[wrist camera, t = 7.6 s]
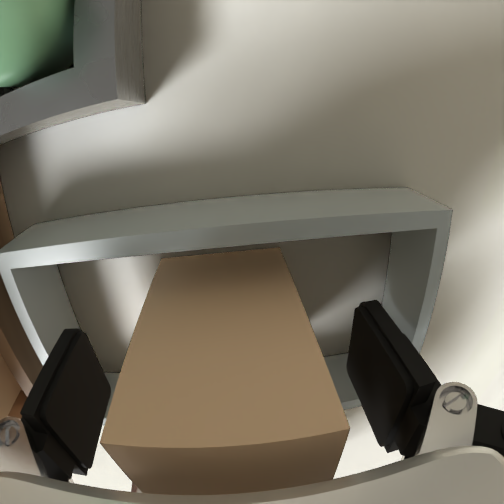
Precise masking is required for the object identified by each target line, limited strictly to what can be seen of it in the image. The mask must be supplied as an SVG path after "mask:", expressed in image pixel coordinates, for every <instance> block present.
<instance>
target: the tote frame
mask: <svg viewBox="0 0 504 504" xmlns="http://www.w3.org/2000/svg"><path fill="white" fill-rule="evenodd" d="M452 212H453V210H452V209H450V208H448V207H446V206H445V205H443V204H441V203H439V202H437V201H435V200H433V199H431V198H429V197H427V196H425V195H423V194H421V193H418V192H416V191H414V190H412V189H410V188H408V187H403V188H364V189H340V190H320V191H303V192H288V193H274V194H261V195H249V196H237V197H226V198H216V199H206V200H197V201H188V202H179V203H170V204H162V205H154V206H146V207H138V208H131V209H124V210H117V211H110V212H103V213H97V214H90V215H84V216H78V217H72V218H66V219H60V220H54V221H48V222H43V223H37V224H34V225H32V226H31V227H29V228H28V229H27V230H25V231H24V232H23V233H21V234H20V235H18V236H17V237H16V238H14V239H13V240H12V241H10V242H9V243H8V244H6V245H5V246H4V247H3V248H1V249H0V273H1V276H2V279H3V282H4V284H5V287H6V289H7V292H8V294H9V297H10V299H11V302H12V304H13V306H14V309H15V311H16V313H17V315H18V318H19V320H20V322H21V324H22V326H23V328H24V330H25V332H26V334H27V337H28V339H29V341H30V342H31V344H32V346H33V348H34V350H35V352H36V354H37V356H38V358H39V359H40V361H41V363H42V365H44V364H45V362H46V360H47V358H48V356H49V354H50V353H51V351H52V349H53V347H54V346H55V344H56V342H57V340H58V339H59V337H60V335H61V333H62V332H63V330H64V329H71V328H79V329H80V327H79V324H78V322H77V319H76V317H75V314H74V312H73V309H72V307H71V304H70V301H69V299H68V296H67V293H66V290H65V288H64V285H63V282H62V279H61V276H60V273H59V270H58V267H57V264H62V263H72V262H81V261H91V260H101V259H110V258H120V257H130V256H140V255H150V254H160V253H170V252H180V251H191V250H201V249H211V248H222V247H232V246H243V245H253V244H264V243H275V242H286V241H297V240H308V239H319V238H330V237H341V236H352V235H364V234H375V233H387V232H392V237H391V246H390V255H389V263H388V270H387V277H386V284H385V290H384V296H383V302H382V307H383V308H384V309H385V311H386V312H387V313H388V314H389V316H390V317H391V318H392V320H393V321H394V322H395V324H396V325H397V327H398V328H399V329H400V331H401V332H402V333H404V334H405V335H406V336H407V337H408V339H409V340H410V341H411V343H412V344H413V346H414V347H415V348H416V350H417V351H418V352H419V354H420V351H421V348H422V345H423V342H424V339H425V336H426V333H427V329H428V326H429V322H430V319H431V315H432V312H433V308H434V304H435V300H436V296H437V292H438V288H439V284H440V279H441V275H442V270H443V266H444V261H445V255H446V250H447V244H448V239H449V232H450V226H451V219H452ZM347 358H348V353H344V354H339V355H333V356H327V357H324V360H325V362H326V365H327V368H328V370H329V373H330V375H331V378H332V381H333V383H334V386H335V389H336V391H337V394H338V397H339V399H340V402H341V405H342V407H343V410H346V409H350V408H355V407H359V406H362V405H361V402H360V400H359V398H358V396H357V393H356V391H355V389H354V387H353V384H352V382H351V380H350V378H349V376H348V373H347V368H346V364H347ZM104 374H105V376H106V378H107V380H108V382H109V384H110V387H111V396H110V399H109V402H108V406H107V409H106V413H105V417H104V420H103V424H102V425H105V422H106V419H107V415H108V411H109V408H110V405H111V401H112V398H113V394H114V391H115V388H116V384H117V381H118V378H119V375H120V373H104Z"/></svg>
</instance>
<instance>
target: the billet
mask: <svg viewBox="0 0 504 504" xmlns="http://www.w3.org/2000/svg"><path fill="white" fill-rule="evenodd" d="M349 431H350V426H349V424H348V421H347V418H346V415H345V413H344V410H343V407H342V405H341V402H340V399H339V397H338V394H337V391H336V389H335V386H334V383H333V381H332V378H331V375H330V373H329V370H328V368H327V365H326V362H325V360H324V357H323V355H322V352H321V349H320V347H319V344H318V342H317V339H316V337H315V334H314V332H313V329H312V326H311V324H310V321H309V319H308V316H307V314H306V311H305V309H304V306H303V304H302V301H301V299H300V296H299V294H298V291H297V289H296V286H295V284H294V281H293V279H292V277H291V274H290V272H289V269H288V267H287V264H286V262H285V259H284V257H283V255H282V252H281V250H280V247H276V248H266V249H255V250H244V251H234V252H223V253H212V254H202V255H191V256H181V257H170V258H161V261H160V263H159V266H158V268H157V271H156V273H155V276H154V278H153V281H152V284H151V286H150V289H149V291H148V294H147V297H146V299H145V302H144V305H143V307H142V310H141V313H140V316H139V318H138V321H137V324H136V327H135V330H134V333H133V336H132V338H131V341H130V344H129V347H128V350H127V353H126V356H125V359H124V362H123V365H122V369H121V372H120V375H119V378H118V381H117V384H116V388H115V391H114V394H113V398H112V401H111V405H110V408H109V411H108V415H107V419H106V422H105V426H104V430H103V433H102V437H101V441H100V444H101V445H102V446H103V448H104V449H105V450H106V451H107V453H108V454H109V455H110V456H111V458H112V459H113V460H114V461H115V462H116V464H117V465H118V466H119V467H120V468H121V470H122V471H123V472H124V473H125V474H126V475H127V476H128V478H129V479H130V480H131V481H132V482H133V483H134V484H135V485H136V486H137V487H138V489H139V490H140V491H141V492H142V493H147V494H164V495H222V494H239V493H251V492H261V491H269V490H277V489H284V488H291V487H297V486H303V485H308V484H314V483H319V482H323V481H328V480H333V477H334V475H335V472H336V469H337V466H338V464H339V461H340V458H341V455H342V452H343V449H344V446H345V443H346V440H347V437H348V434H349Z"/></svg>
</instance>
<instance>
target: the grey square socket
mask: <svg viewBox="0 0 504 504" xmlns="http://www.w3.org/2000/svg"><path fill="white" fill-rule="evenodd" d="M73 52H74V68H70V69H67V70H65V71H62V72H59V73H56V74H53V75H50V76H48V77H45V78H43V79H40V80H37V81H35V82H32V83H30V84H28V85H25V86H23V87H21V88H18V89H16V90H14V91H12V92H11V87H0V144H3V143H6V142H8V141H11V140H13V139H16V138H19V137H22V136H24V135H27V134H30V133H33V132H36V131H39V130H42V129H45V128H48V127H51V126H55V125H58V124H61V123H65V122H68V121H72V120H75V119H79V118H83V117H87V116H91V115H95V114H99V113H103V112H107V111H112V110H116V109H121V108H126V107H130V106H136V105H141V104H146V99H145V86H144V72H143V53H142V25H141V0H75V5H74V34H73Z"/></svg>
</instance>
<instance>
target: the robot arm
mask: <svg viewBox="0 0 504 504" xmlns="http://www.w3.org/2000/svg"><path fill="white" fill-rule="evenodd" d="M346 368H347V373H348V376H349V378H350V380H351V382H352V384H353V387H354V389H355V391H356V393H357V396H358V398H359V400H360V402H361V405H362V407H363V409H364V411H365V414H366V416H367V418H368V421H369V423H370V425H371V428H372V430H373V432H374V435H375V437H376V439H377V442H378V444H379V445H380V446H381V447H382V446H384V447H385V449H386V451H387V453H389V452H392V451H395V450H398V449H399V452H400V454H401V455H403V456H402V459H401V461H398V462H395V463H392V464H388V465H385V466H382V467H379V468H375V469H372V470H368V471H365V472H361V473H357V474H353V475H349V476H345V477H341V478H337V479H333V480H328V481H323V482H319V483H314V484H308V485H303V486H297V487H291V488H284V489H277V490H269V491H261V492H251V493H239V494H222V495H164V494H147V493H135V492H126V491H117V490H110V489H103V488H97V487H91V486H85V485H79V484H74V482H73V480H72V478H71V477H72V473H75V474H80V475H85V476H87V471H88V468H89V469H90V468H91V467H92V464H93V460H94V456H95V452H96V447H97V443H98V439H99V436H100V432H101V428H102V424H103V420H104V417H105V413H106V409H107V406H108V402H109V399H110V396H111V387H110V384H109V382H108V380H107V378H106V376H105V374H104V372H103V370H102V368H101V366H100V364H99V361H98V359H97V357H96V355H95V353H94V351H93V348H92V346H91V344H90V341H89V339H88V337H87V335H86V333H84V332H82V330H81V329H79V328H71V329H64V330H63V332H62V333H61V335H60V337H59V339H58V340H57V342H56V344H55V346H54V347H53V349H52V351H51V353H50V354H49V356H48V358H47V360H46V362H45V364H44V365H43V367H42V369H41V371H40V373H39V375H38V377H37V379H36V381H35V383H34V385H33V387H32V389H31V391H30V393H29V395H28V397H27V399H26V401H25V403H24V405H23V407H22V409H21V411H20V414H21V415H22V418H21V420H19V419H18V418H16V417H6V418H3V419H1V420H0V504H504V411H501V410H497V409H494V408H490V407H486V406H483V405H479V404H477V397H476V395H475V393H474V392H473V390H472V389H471V388H470V387H468V386H467V385H465V384H462V383H459V382H449V383H446V384H444V385H441V384H440V382H439V381H438V379H437V378H436V377H435V375H434V374H433V372H432V371H431V369H430V368H429V367H428V365H427V364H426V362H425V361H424V359H423V358H422V357H421V355H420V354H419V352H418V351H417V350H416V348H415V347H414V346H413V344H412V343H411V341H410V340H409V339H408V337H407V336H406V335H405V334H404V333H402V332H401V331H400V329H399V328H398V327H397V325H396V324H395V322H394V321H393V320H392V318H391V317H390V316H389V314H388V313H387V312H386V311H385V309H384V308H383V307H382V305H381V304H380V303H379V302H378V301H377V300H373V301H367V302H362V303H360V305H359V307H357V308H355V312H354V319H353V326H352V333H351V340H350V346H349V352H348V358H347V364H346Z"/></svg>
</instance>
